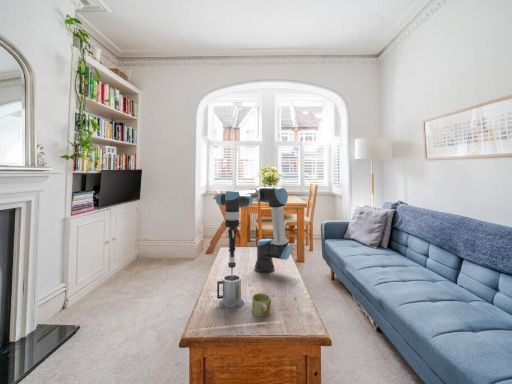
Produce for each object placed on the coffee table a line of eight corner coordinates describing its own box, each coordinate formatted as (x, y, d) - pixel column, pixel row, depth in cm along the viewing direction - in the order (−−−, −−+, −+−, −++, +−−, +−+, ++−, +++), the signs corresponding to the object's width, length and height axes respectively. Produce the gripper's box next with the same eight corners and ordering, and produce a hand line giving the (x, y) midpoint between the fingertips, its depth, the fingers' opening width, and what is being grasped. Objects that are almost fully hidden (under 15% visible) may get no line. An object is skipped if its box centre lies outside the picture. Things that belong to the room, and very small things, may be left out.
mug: (248, 303, 134) (254, 288, 132) (266, 309, 135) (272, 293, 133) (247, 320, 122) (254, 303, 120) (267, 326, 123) (274, 309, 121)
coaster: (242, 297, 145) (242, 296, 145) (246, 309, 132) (246, 308, 132) (218, 299, 143) (218, 298, 143) (219, 311, 129) (219, 310, 129)
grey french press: (239, 298, 143) (239, 274, 142) (241, 306, 133) (242, 280, 133) (216, 300, 140) (216, 275, 140) (217, 308, 131) (217, 282, 130)
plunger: (237, 284, 141) (237, 260, 140) (238, 289, 134) (238, 264, 134) (225, 284, 139) (225, 261, 139) (226, 290, 133) (226, 265, 132)
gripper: (224, 217, 141) (224, 259, 142) (226, 221, 128) (225, 266, 129) (237, 217, 142) (237, 258, 143) (240, 221, 130) (240, 266, 130)
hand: (231, 262), depth 136 cm, fingers closed
